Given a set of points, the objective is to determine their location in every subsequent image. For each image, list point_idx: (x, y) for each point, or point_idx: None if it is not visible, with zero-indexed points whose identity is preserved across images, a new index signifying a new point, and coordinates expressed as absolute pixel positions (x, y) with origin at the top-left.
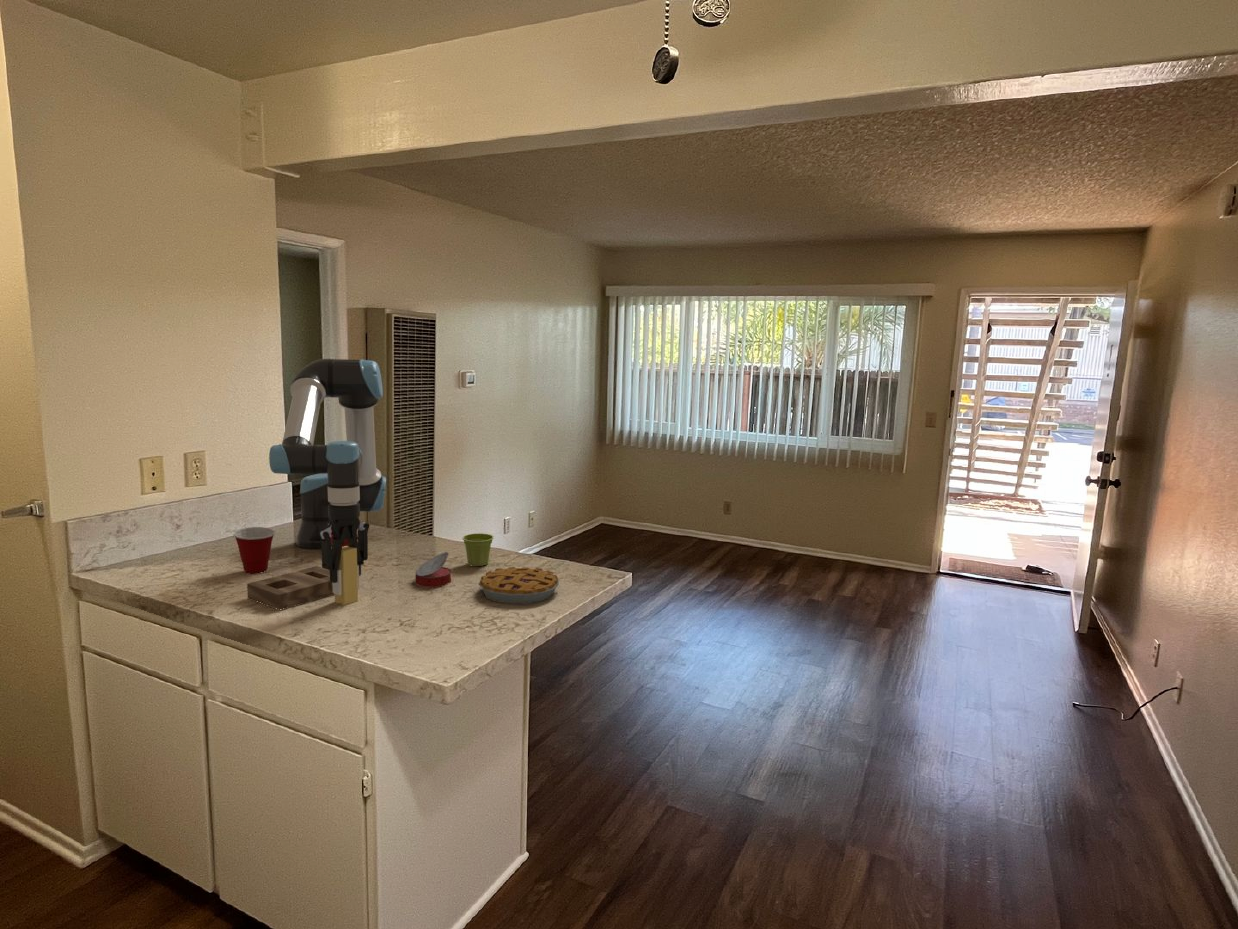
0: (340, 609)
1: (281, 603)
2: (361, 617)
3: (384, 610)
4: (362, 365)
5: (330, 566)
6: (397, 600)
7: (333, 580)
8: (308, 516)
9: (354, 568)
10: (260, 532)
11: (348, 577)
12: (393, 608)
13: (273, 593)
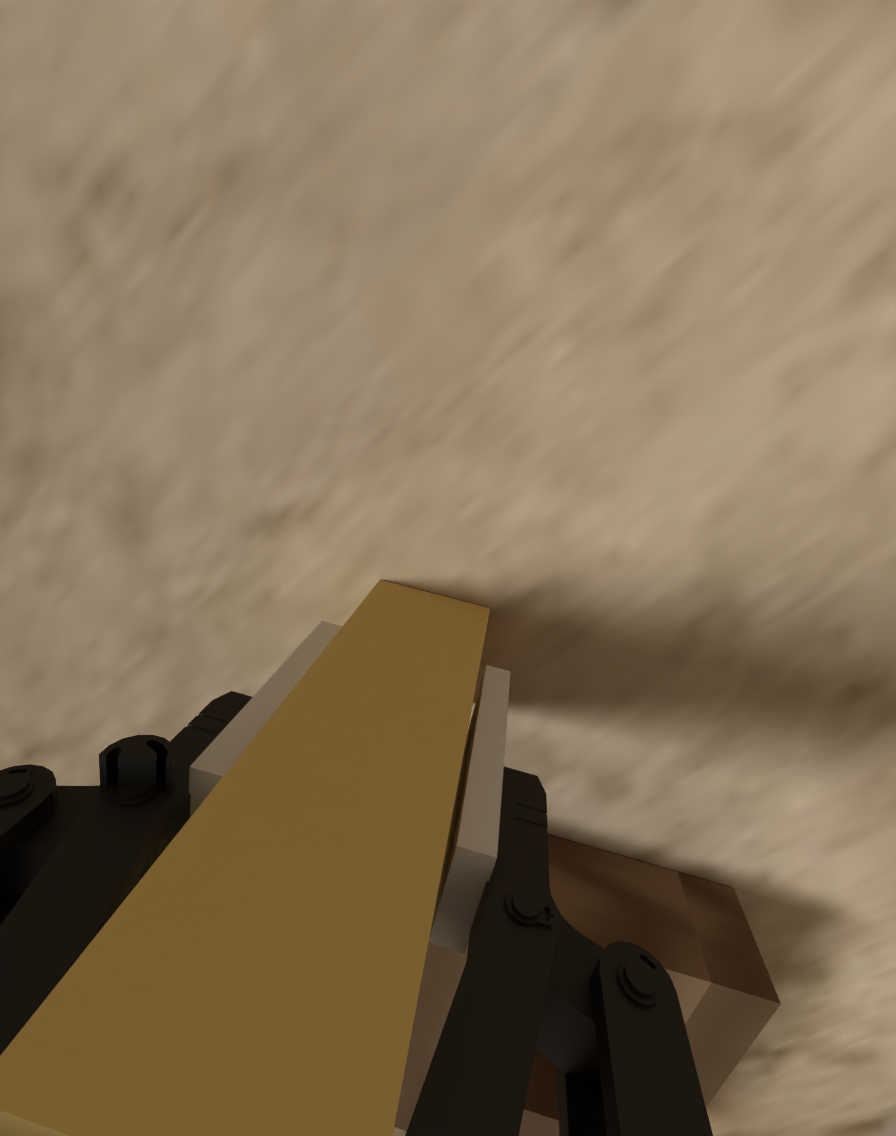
0: (578, 578)
1: (734, 925)
2: (684, 294)
3: (456, 227)
4: None
5: (636, 997)
6: (221, 305)
7: (545, 800)
8: None
9: (291, 754)
10: None
11: (407, 719)
12: (381, 185)
13: (749, 1041)
